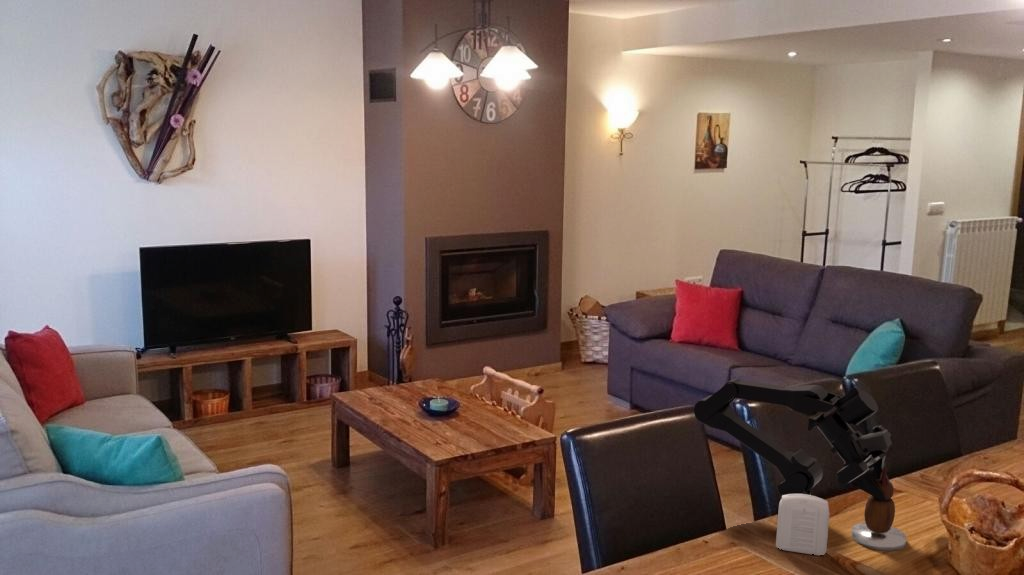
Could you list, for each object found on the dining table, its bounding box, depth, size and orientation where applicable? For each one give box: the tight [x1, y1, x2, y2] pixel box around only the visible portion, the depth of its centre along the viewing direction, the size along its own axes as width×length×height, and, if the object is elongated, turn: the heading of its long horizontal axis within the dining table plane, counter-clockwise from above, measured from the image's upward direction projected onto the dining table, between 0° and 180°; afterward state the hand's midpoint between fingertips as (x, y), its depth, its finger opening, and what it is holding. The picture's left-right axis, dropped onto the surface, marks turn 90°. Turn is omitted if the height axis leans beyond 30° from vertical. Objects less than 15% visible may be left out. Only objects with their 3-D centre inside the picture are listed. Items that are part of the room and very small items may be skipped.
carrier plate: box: [851, 521, 907, 552], centre depth 197 cm, size 11×11×2 cm
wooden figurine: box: [863, 466, 896, 533], centre depth 195 cm, size 7×6×15 cm
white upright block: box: [775, 494, 830, 556], centre depth 190 cm, size 10×4×12 cm, turn 73°
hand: (888, 496), depth 194 cm, fingers closed on wooden figurine, 5 cm apart
